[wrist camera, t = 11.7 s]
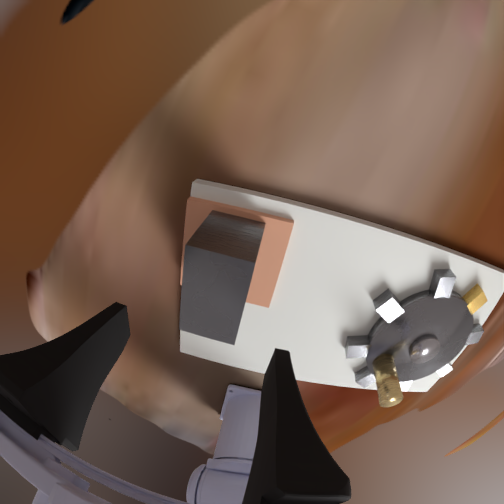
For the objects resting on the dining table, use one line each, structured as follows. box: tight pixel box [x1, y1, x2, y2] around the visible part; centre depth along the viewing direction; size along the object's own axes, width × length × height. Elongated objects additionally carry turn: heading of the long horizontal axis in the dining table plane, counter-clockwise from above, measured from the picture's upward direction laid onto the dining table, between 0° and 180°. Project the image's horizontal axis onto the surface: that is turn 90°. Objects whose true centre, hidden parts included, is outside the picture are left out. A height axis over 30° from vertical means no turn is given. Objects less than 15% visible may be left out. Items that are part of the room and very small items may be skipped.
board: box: [180, 179, 504, 392], centre depth 21 cm, size 17×29×2 cm, turn 79°
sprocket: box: [345, 269, 488, 407], centre depth 19 cm, size 14×14×6 cm
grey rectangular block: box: [179, 210, 266, 345], centre depth 17 cm, size 6×4×5 cm, turn 168°
